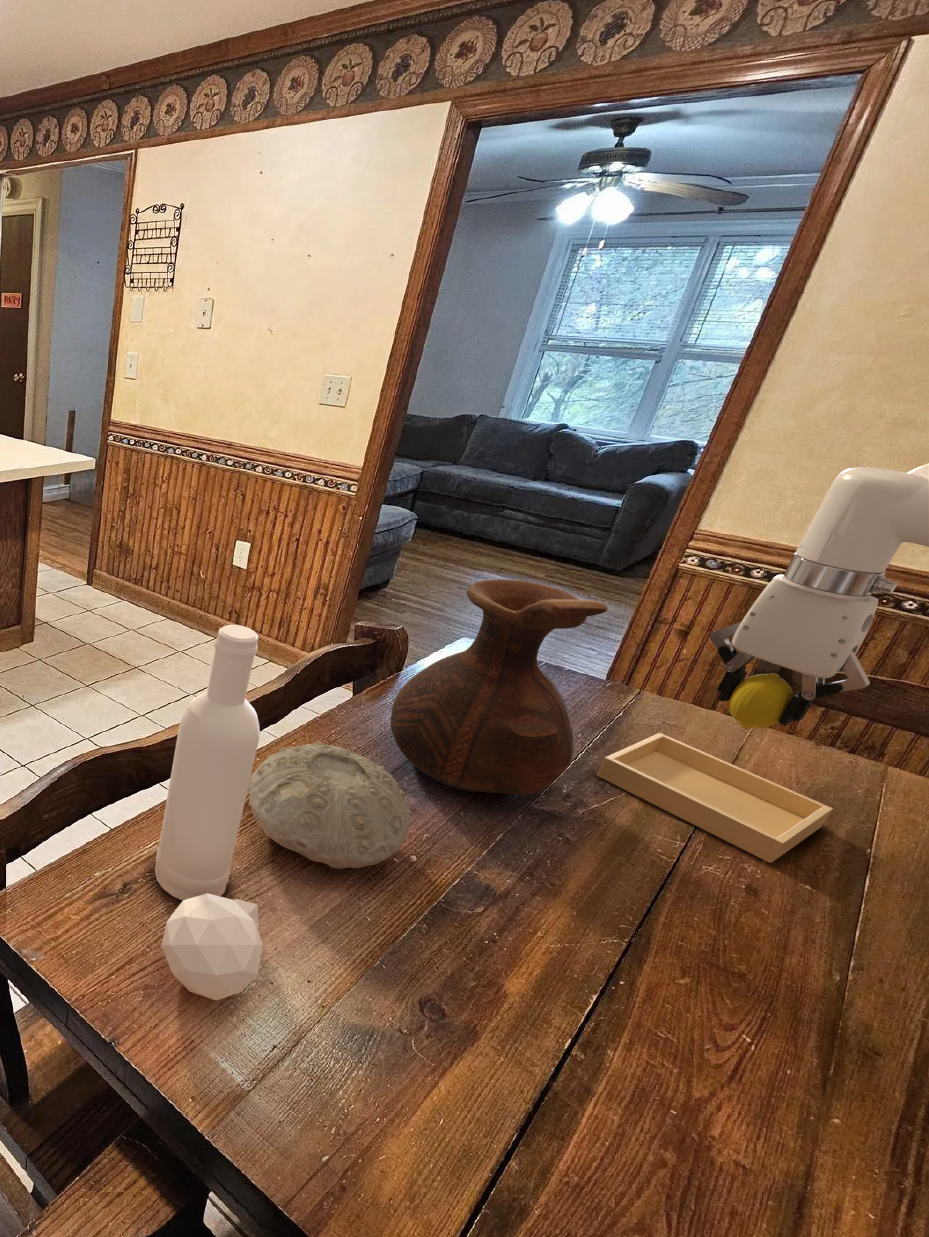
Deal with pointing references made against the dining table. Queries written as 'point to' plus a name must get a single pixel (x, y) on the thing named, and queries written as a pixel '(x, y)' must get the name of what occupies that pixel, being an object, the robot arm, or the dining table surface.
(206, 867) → the bottle
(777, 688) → the lemon
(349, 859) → the decorative shell
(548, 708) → the jug
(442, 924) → the dining table surface
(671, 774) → the tray
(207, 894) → the cream faceted rounded solid
